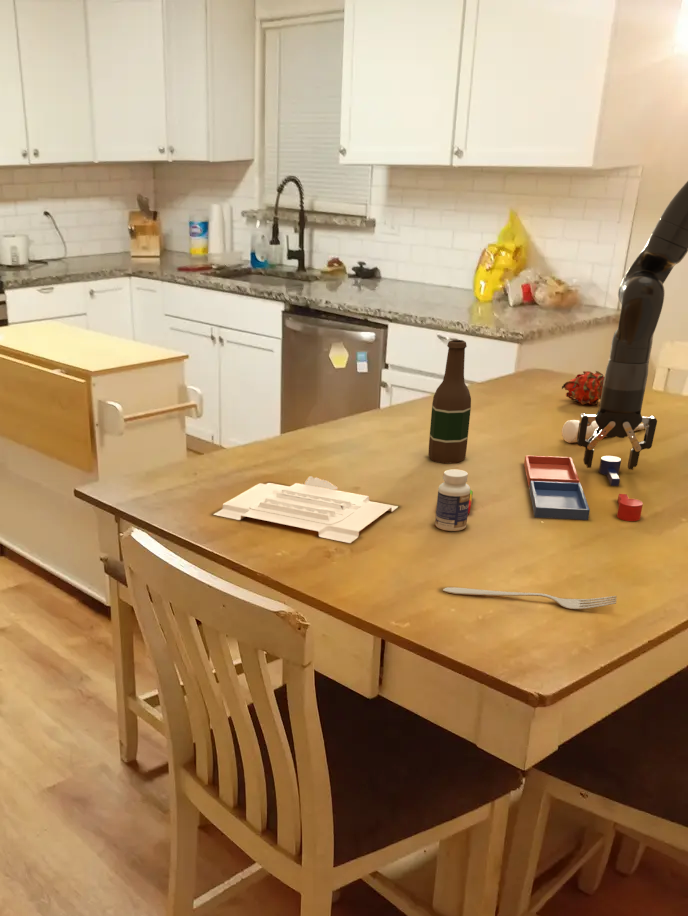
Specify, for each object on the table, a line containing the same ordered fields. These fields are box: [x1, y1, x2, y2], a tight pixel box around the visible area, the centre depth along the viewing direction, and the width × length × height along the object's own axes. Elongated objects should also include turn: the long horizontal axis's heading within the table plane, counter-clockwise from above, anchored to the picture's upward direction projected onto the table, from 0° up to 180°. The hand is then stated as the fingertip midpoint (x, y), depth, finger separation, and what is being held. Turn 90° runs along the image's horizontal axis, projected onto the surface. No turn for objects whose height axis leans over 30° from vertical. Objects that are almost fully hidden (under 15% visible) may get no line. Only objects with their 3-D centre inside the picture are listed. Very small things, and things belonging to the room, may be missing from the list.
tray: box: [212, 475, 399, 544], centre depth 174 cm, size 20×28×4 cm
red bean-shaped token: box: [616, 493, 644, 522], centre depth 169 cm, size 10×4×3 cm, turn 167°
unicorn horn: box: [561, 419, 646, 444], centre depth 209 cm, size 5×24×5 cm, turn 109°
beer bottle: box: [428, 339, 472, 464], centre depth 194 cm, size 8×8×24 cm
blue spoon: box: [598, 455, 622, 487], centre depth 185 cm, size 10×4×3 cm, turn 167°
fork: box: [442, 586, 618, 610], centre depth 139 cm, size 3×24×2 cm, turn 70°
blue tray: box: [528, 481, 591, 521], centre depth 173 cm, size 9×14×2 cm, turn 167°
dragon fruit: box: [561, 370, 605, 406], centre depth 233 cm, size 8×8×12 cm
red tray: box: [523, 454, 580, 489], centre depth 187 cm, size 9×14×2 cm, turn 167°
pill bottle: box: [434, 468, 471, 532], centre depth 164 cm, size 5×5×10 cm
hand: (609, 467), depth 188 cm, fingers open, 7 cm apart
